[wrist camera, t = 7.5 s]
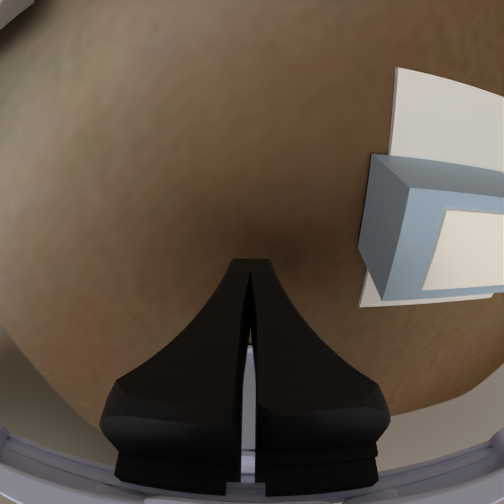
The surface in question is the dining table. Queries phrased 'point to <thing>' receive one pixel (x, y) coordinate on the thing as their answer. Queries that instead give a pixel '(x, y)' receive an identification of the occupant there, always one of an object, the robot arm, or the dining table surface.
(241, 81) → the dining table surface
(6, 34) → the dining table surface
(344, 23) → the dining table surface
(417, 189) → the block
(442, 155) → the mat
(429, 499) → the robot arm
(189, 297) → the dining table surface
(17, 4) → the die
